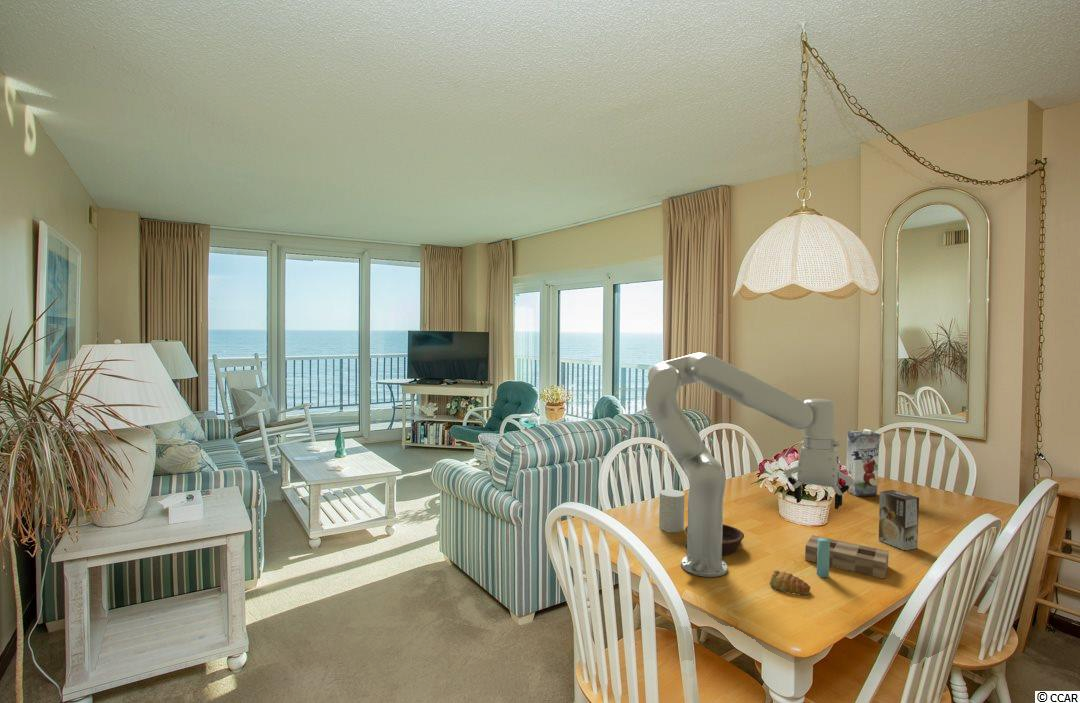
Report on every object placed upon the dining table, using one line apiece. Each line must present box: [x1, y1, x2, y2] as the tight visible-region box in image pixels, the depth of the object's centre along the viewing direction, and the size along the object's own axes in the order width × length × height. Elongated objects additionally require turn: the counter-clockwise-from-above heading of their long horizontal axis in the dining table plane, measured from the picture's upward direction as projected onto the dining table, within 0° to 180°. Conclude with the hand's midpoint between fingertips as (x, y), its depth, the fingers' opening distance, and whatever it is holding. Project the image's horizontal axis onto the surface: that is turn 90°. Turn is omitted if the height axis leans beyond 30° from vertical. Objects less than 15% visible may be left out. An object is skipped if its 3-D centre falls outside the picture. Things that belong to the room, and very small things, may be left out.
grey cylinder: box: [658, 488, 685, 533], centre depth 189 cm, size 8×8×12 cm
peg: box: [816, 537, 830, 578], centre depth 154 cm, size 3×3×10 cm
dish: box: [684, 524, 745, 555], centre depth 174 cm, size 17×22×5 cm
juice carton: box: [845, 428, 881, 497], centre depth 229 cm, size 9×10×27 cm
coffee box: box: [878, 489, 920, 551], centre depth 176 cm, size 9×6×16 cm
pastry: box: [769, 569, 811, 596], centre depth 146 cm, size 9×7×4 cm
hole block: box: [804, 534, 889, 579], centre depth 162 cm, size 10×20×4 cm, turn 54°
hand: (817, 504), depth 155 cm, fingers open, 9 cm apart
